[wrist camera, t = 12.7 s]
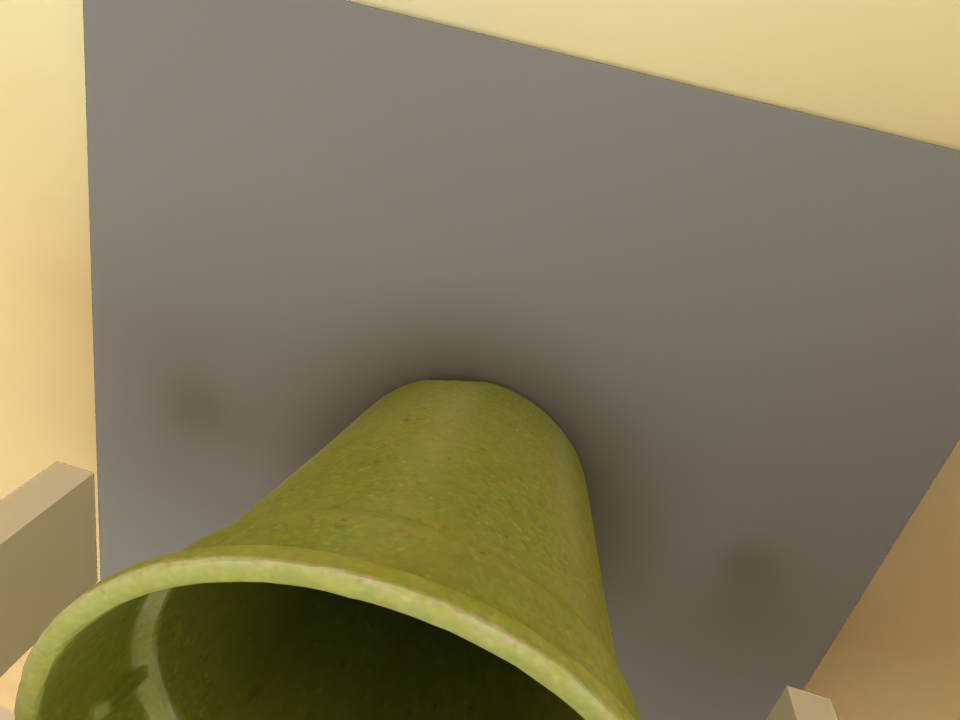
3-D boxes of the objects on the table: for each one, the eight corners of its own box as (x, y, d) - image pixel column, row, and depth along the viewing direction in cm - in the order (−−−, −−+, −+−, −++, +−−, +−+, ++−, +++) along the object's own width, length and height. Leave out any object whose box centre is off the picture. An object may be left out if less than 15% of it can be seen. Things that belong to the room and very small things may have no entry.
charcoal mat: (1096, 185, 12) (1115, 189, 12) (706, 823, 21) (709, 840, 20) (98, -59, 14) (80, -64, 13) (112, 632, 22) (102, 644, 22)
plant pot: (486, 681, 19) (403, 1100, 11) (223, 480, 18) (-75, 793, 10) (740, 490, 15) (881, 921, 8) (428, 221, 14) (206, 398, 6)
